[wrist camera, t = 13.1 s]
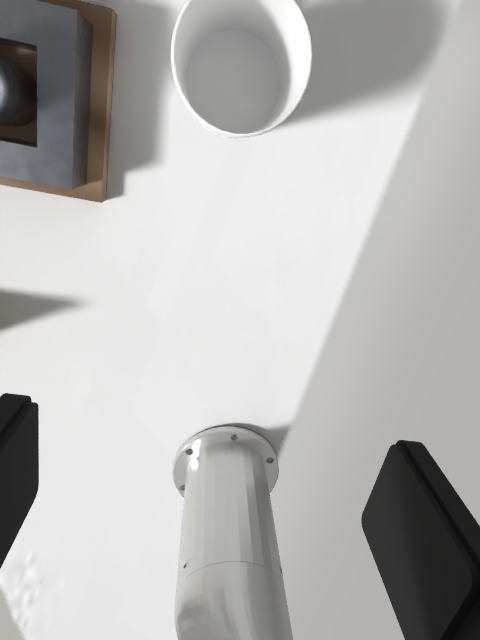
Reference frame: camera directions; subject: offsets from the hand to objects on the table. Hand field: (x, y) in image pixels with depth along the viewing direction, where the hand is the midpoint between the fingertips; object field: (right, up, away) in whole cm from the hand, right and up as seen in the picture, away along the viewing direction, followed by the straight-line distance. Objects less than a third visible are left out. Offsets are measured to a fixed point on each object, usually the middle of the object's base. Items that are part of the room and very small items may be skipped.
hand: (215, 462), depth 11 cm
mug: (0, +25, +22) cm, 34 cm away
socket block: (-17, +21, +21) cm, 34 cm away
